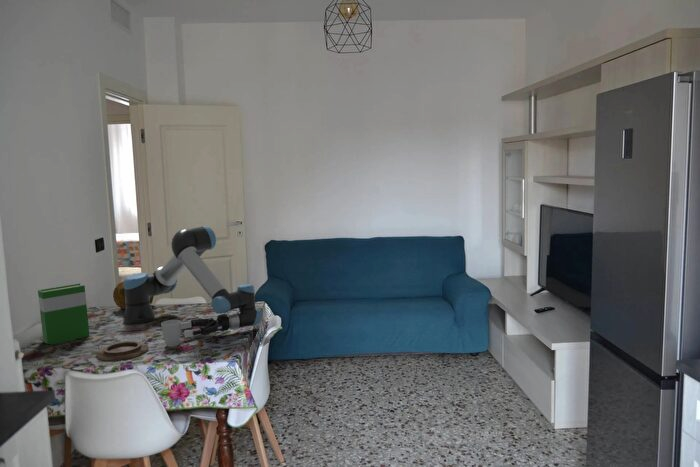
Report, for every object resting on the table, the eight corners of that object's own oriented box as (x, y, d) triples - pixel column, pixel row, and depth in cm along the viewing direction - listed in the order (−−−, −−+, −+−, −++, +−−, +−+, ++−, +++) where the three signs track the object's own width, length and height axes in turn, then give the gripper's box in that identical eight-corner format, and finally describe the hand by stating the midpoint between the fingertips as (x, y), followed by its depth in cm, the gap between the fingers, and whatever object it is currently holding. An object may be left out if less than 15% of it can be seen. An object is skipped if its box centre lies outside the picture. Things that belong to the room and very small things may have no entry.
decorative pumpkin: (113, 305, 309) (113, 270, 307) (152, 303, 318) (152, 269, 315) (113, 315, 291) (113, 278, 289) (154, 312, 299) (155, 277, 297)
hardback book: (84, 332, 261) (79, 283, 258) (89, 335, 255) (84, 285, 252) (43, 341, 249) (37, 290, 246) (47, 345, 243) (42, 292, 240)
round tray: (117, 343, 241) (117, 338, 241) (157, 345, 236) (157, 340, 236) (85, 359, 222) (85, 353, 221) (128, 362, 217) (128, 356, 216)
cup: (186, 342, 239) (184, 320, 238) (174, 348, 231) (172, 325, 230) (170, 341, 242) (169, 319, 240) (158, 347, 234) (157, 324, 233)
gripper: (237, 336, 238) (189, 346, 227) (219, 323, 259) (173, 332, 248) (236, 319, 237) (187, 328, 226) (218, 308, 258) (172, 316, 247)
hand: (180, 330), depth 237 cm, fingers open, 13 cm apart
